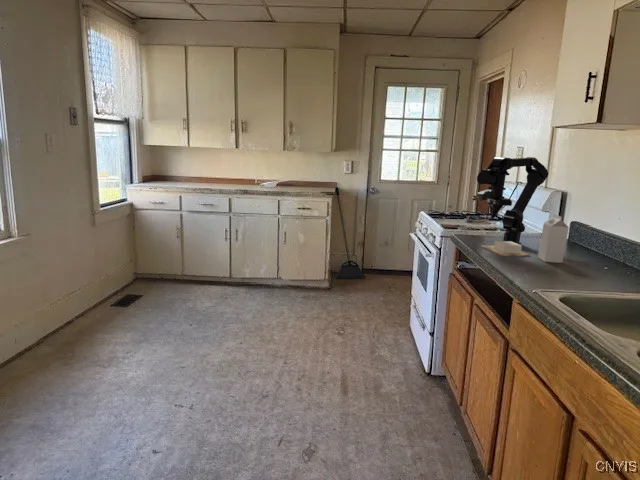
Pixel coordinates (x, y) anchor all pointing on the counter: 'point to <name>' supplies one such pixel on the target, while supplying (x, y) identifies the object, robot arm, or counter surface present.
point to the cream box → (507, 247)
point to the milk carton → (553, 240)
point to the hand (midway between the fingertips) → (492, 218)
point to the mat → (491, 248)
